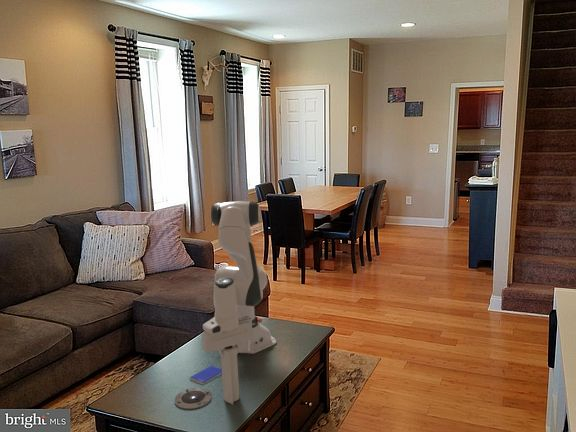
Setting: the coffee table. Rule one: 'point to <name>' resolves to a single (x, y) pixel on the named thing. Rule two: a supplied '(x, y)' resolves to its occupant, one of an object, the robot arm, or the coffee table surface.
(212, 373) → the hard drive
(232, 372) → the paper towel roll
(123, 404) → the coffee table surface
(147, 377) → the coffee table surface
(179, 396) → the duct flange
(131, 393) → the coffee table surface
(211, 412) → the coffee table surface
